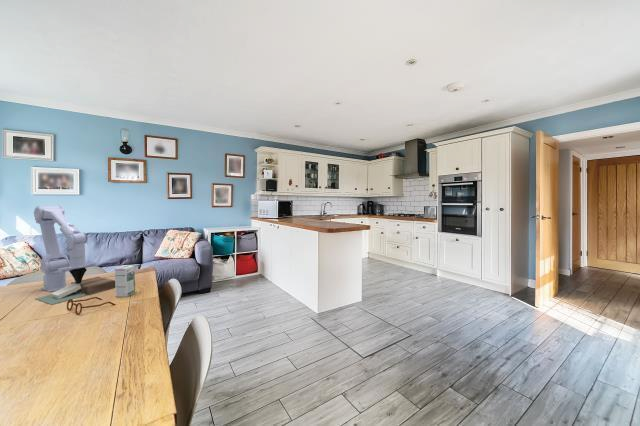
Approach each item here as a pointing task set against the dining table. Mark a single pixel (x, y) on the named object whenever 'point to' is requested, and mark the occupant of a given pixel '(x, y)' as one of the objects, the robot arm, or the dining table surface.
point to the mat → (52, 300)
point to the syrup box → (124, 281)
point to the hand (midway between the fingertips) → (78, 283)
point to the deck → (95, 285)
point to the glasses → (85, 306)
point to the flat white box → (66, 291)
